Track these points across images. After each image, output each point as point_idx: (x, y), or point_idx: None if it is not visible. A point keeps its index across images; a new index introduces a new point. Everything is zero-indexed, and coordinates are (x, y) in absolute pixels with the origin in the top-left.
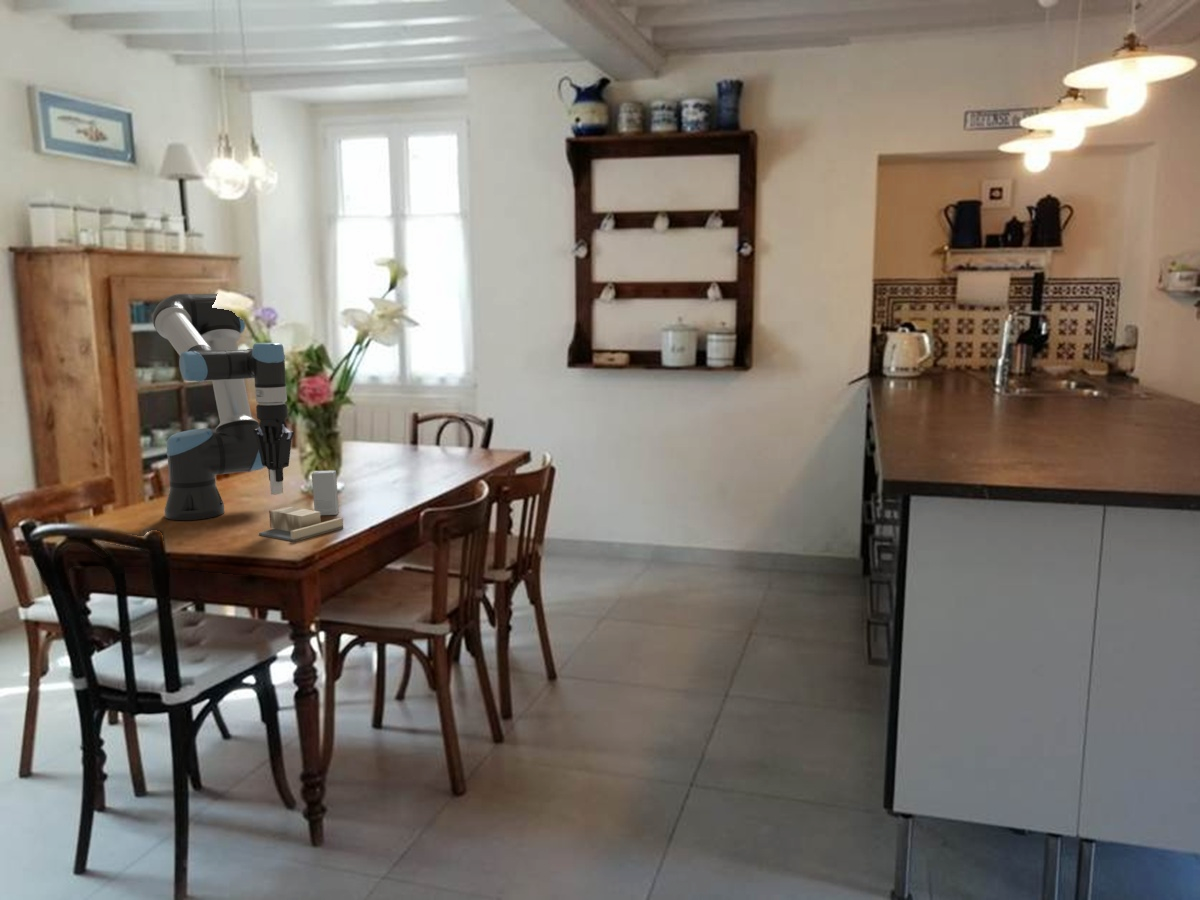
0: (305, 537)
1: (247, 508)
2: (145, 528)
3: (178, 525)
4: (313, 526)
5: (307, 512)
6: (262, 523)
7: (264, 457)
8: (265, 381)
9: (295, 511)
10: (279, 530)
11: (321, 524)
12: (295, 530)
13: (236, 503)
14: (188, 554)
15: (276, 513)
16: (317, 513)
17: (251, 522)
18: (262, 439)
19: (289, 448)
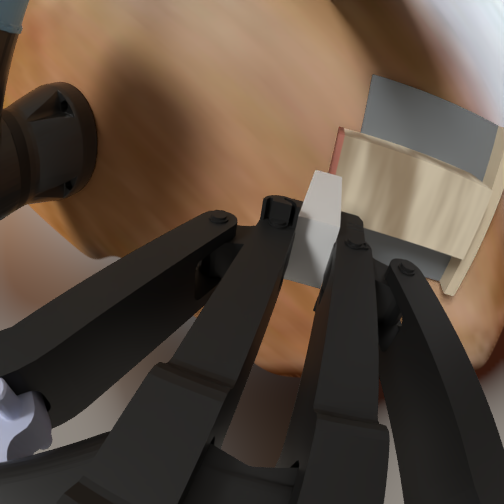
0: None
1: (93, 36)
2: (85, 253)
3: (101, 220)
4: (482, 240)
5: (460, 209)
6: (244, 132)
7: (201, 301)
8: None
9: (416, 204)
10: None
11: (493, 213)
12: (454, 287)
13: (53, 28)
14: (289, 374)
15: None
16: (487, 200)
17: (207, 135)
18: (79, 383)
19: (473, 397)
